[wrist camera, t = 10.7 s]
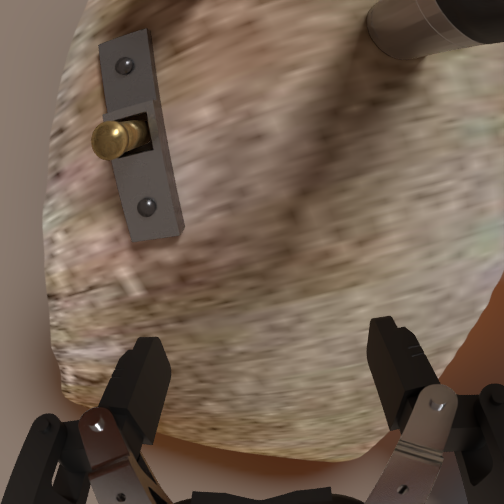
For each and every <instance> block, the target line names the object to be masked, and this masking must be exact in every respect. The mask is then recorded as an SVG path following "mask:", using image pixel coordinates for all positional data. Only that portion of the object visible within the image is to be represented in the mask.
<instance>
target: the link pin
mask: <svg viewBox="0 0 504 504" xmlns="http://www.w3.org/2000/svg"><path fill="white" fill-rule="evenodd" d="M150 140H151V133H150V128H149V122H148V121H146V120H142V119H140V120H132V121H124V122H118V121H106V122H103V123H101V124H100V125H98V126H97V127H96V129H95V130H94V132H93V134H92V139H91V144H92V148H93V151H94V152H95V154H96V155H97V156H98V157H99V158H101V159H103V160H113V159H116V158H118V157H120V156H121V155H123V154H124V152H126V151H129V150H132V149H135V148H137V147H140V146H143V145H145V144H147V143H149V142H150Z"/></svg>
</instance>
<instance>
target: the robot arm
mask: <svg viewBox="0 0 504 504" xmlns="http://www.w3.org/2000/svg"><path fill="white" fill-rule="evenodd" d="M367 28H368V31H369V34H370V36H371V38H372V40H373V41H374V42H375V44H376V45H377V46H378V47H379V48H380V49H381V50H382V51H383V52H385V53H386V54H388V55H389V56H392V57H394V58H397V59H400V60H409V59H414V58H418V57H423V56H428V55H432V54H436V53H441V52H446V51H451V50H456V49H461V48H467V47H472V46H478V45H485V44H493V43H500V42H504V0H380V1H379V2H378V3H376V4H375V5H374V6H373V7H372V8H371V9H370V11H369V13H368V16H367ZM367 361H368V365H369V367H370V370H371V373H372V376H373V379H374V382H375V385H376V388H377V391H378V394H379V397H380V400H381V404H382V407H383V410H384V413H385V416H386V419H387V423H388V426H389V429H390V431H392V430H396V429H400V432H401V438H400V440H399V442H398V444H397V446H396V448H395V450H394V452H393V454H392V456H391V458H390V460H389V462H388V464H387V465H386V467H385V469H384V471H383V473H382V475H381V476H380V478H379V480H378V482H377V483H376V485H375V487H374V489H373V490H372V492H371V494H370V495H369V497H368V498H367V500H366V502H365V503H364V502H362V501H360V500H357V499H355V498H352V497H348V496H345V495H339V494H332V493H331V487H326V488H317V489H309V490H300V491H294V492H291V493H287V494H284V495H280V496H277V497H273V498H269V499H265V500H254V499H249V498H245V497H240V496H236V495H231V494H227V493H213V492H196V491H193V492H192V499H186V500H182V501H179V502H176V503H174V504H425V503H426V500H427V498H428V496H429V494H430V492H431V489H432V487H433V485H434V483H435V480H436V478H437V475H438V473H439V470H440V468H441V465H442V462H443V457H442V453H443V452H453V451H454V453H455V456H456V459H457V463H458V466H459V470H460V473H461V477H462V481H463V485H464V488H465V492H466V496H467V501H468V504H504V386H503V385H501V384H489V385H487V386H486V387H484V388H483V389H482V391H481V393H480V394H479V395H457V394H455V392H454V391H453V390H452V389H451V388H449V387H447V386H445V385H441V384H440V382H439V380H438V378H437V376H436V374H435V372H434V370H433V368H432V366H431V364H430V363H429V361H428V359H427V357H426V355H425V354H424V351H423V349H422V348H421V346H420V344H419V342H418V340H417V338H416V337H415V335H414V334H413V333H412V332H411V331H409V330H408V329H407V328H406V327H401V328H397V326H396V324H395V322H394V320H393V318H392V317H391V316H385V317H379V318H372V319H371V321H370V327H369V335H368V343H367ZM170 380H171V367H170V363H169V361H168V358H167V356H166V353H165V351H164V348H163V346H162V343H161V341H160V339H159V338H158V337H139V338H138V339H137V341H136V344H135V346H134V348H133V350H128V351H127V352H126V353H125V354H124V355H123V356H122V357H121V358H120V359H119V361H118V363H117V365H116V367H115V370H114V372H113V374H112V378H110V381H109V383H108V385H107V387H106V389H105V392H104V394H103V396H102V398H101V401H100V403H99V405H98V407H95V408H91V409H89V410H88V411H86V412H85V413H84V414H83V415H82V416H81V418H80V420H77V421H68V422H61V421H60V420H59V418H58V417H57V416H56V415H54V414H43V415H41V416H39V417H38V418H37V419H36V420H35V421H34V422H33V424H32V426H31V428H30V431H29V433H28V435H27V437H26V440H25V442H24V444H23V447H22V449H21V451H20V454H19V456H18V459H17V461H16V464H15V466H14V469H13V471H12V474H11V476H10V479H9V482H8V485H7V487H6V490H5V493H4V496H3V499H2V502H1V504H86V501H87V497H88V493H89V489H90V485H91V486H92V489H93V491H94V493H95V496H96V499H97V501H98V503H99V504H173V502H172V501H171V500H170V498H169V497H168V496H167V495H166V493H165V492H164V491H163V489H162V488H161V486H160V484H159V483H158V481H157V479H156V478H155V476H154V474H153V472H152V471H151V469H150V467H149V465H148V464H147V462H146V460H145V458H144V456H143V454H142V453H141V451H140V450H141V447H142V444H148V445H153V442H154V438H155V434H156V430H157V427H158V423H159V419H160V416H161V412H162V408H163V405H164V401H165V397H166V394H167V390H168V387H169V383H170ZM58 462H59V463H60V465H59V468H58V471H57V475H56V477H55V480H54V484H53V487H52V477H53V474H54V472H55V469H56V465H57V463H58Z"/></svg>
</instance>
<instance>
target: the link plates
mask: <svg viewBox="0 0 504 504" xmlns="http://www.w3.org/2000/svg"><path fill="white" fill-rule="evenodd" d="M98 46H99V55H100V64H101V72H102V80H103V87H104V94H105V100H106V106H107V112H108V113H106V114H103V121H104V122H106V121H118V122H121V120H123V119H126V118H130V117H133V116H137V115H141V114H145V113H147V117H148V122H149V128H150V133H151V139H152V144H153V149H150V150H146V151H141V152H137V153H133V154H129V155H127V151H126V152H124V154H123V155H121V156H120V157H118V158H116V159H113V160H111V161H112V166H113V170H114V175H115V179H116V183H117V187H118V191H119V195H120V199H121V203H122V207H123V211H124V215H125V218H126V222H127V226H128V229H129V233H130V236H131V240H132V242H138V241H144V240H151V239H158V238H165V237H172V236H179V235H180V234H181V233H182V231H183V229H184V227H185V225H184V220H183V216H182V211H181V207H180V202H179V197H178V193H177V188H176V183H175V178H174V173H173V168H172V163H171V158H170V152H169V147H168V142H167V136H166V131H165V125H164V119H163V114H162V108H161V101H160V95H159V89H158V82H157V76H156V69H155V62H154V55H153V47H152V39H151V31H150V30H148V29H147V28H146V29H142V30H139V31H136V32H133V33H130V34H127V35H124V36H121V37H118V38H115V39H113V40H110V41H107V42H105V43H102V44H99V45H98Z"/></svg>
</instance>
